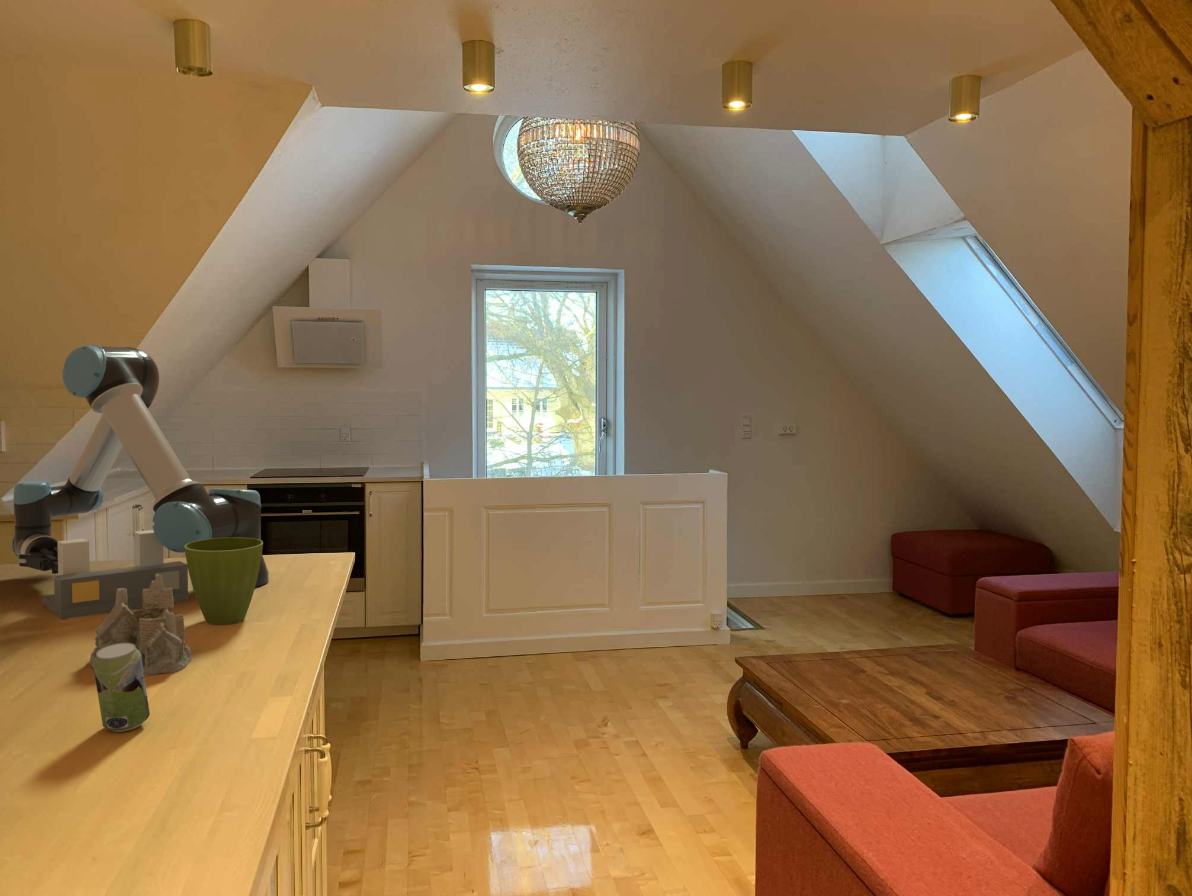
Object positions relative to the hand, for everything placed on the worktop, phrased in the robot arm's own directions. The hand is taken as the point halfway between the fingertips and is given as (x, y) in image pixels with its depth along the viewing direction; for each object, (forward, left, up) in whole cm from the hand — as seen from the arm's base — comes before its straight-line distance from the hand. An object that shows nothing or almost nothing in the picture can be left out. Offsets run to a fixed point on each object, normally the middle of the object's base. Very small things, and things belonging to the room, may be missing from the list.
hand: (70, 569), depth 193 cm
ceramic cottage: (-37, +34, -8) cm, 51 cm away
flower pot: (-38, +6, -8) cm, 39 cm away
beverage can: (-52, +62, -8) cm, 81 cm away
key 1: (-2, +1, -6) cm, 6 cm away
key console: (-8, -4, -8) cm, 12 cm away
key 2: (-10, -13, -6) cm, 17 cm away
